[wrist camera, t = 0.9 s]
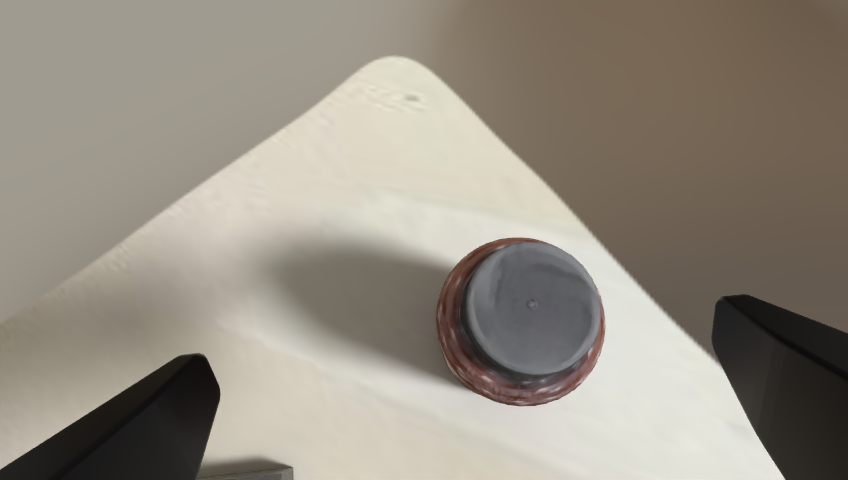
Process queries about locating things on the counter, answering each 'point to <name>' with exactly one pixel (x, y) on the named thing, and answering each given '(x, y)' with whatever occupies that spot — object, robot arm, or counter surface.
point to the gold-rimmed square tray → (256, 475)
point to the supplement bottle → (520, 322)
